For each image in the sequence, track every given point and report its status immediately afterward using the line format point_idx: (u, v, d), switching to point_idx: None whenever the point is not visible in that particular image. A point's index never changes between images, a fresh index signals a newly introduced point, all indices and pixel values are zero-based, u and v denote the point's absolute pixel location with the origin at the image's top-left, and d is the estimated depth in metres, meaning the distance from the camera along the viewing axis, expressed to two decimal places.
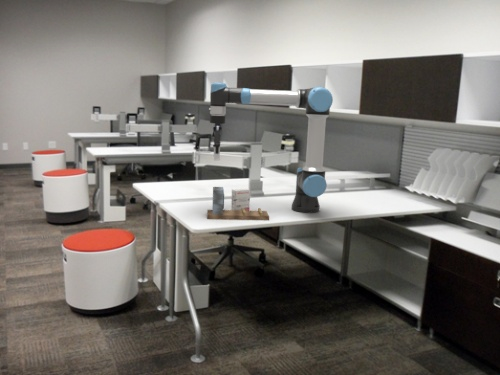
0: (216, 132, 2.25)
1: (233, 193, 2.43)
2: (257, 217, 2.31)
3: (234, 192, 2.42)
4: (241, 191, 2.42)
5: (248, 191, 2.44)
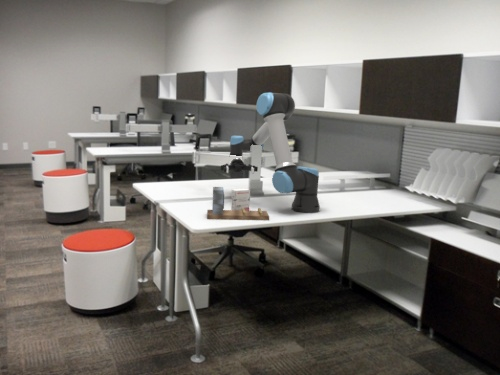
0: None
1: (233, 193, 2.43)
2: (257, 217, 2.31)
3: (234, 192, 2.42)
4: (241, 191, 2.42)
5: (248, 191, 2.44)
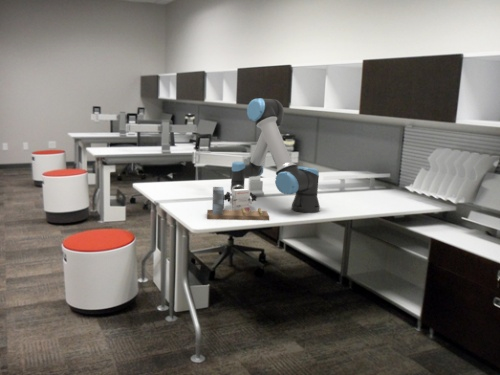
0: None
1: (233, 193, 2.43)
2: (257, 217, 2.31)
3: (234, 192, 2.42)
4: (241, 191, 2.42)
5: (248, 191, 2.44)
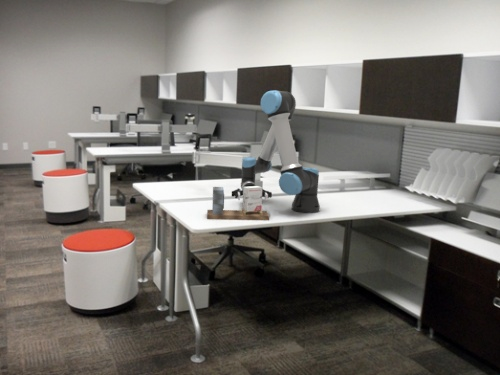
0: None
1: (244, 191, 2.32)
2: (257, 217, 2.31)
3: (246, 189, 2.31)
4: (253, 188, 2.31)
5: (260, 188, 2.33)
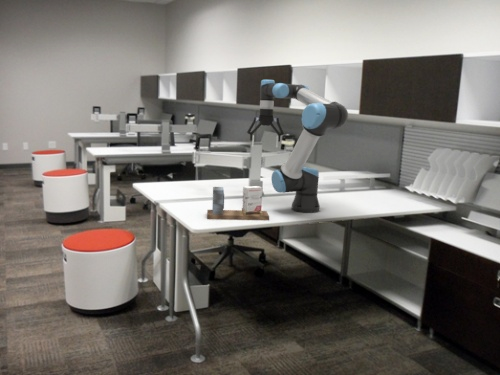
0: (252, 122, 2.62)
1: (244, 191, 2.32)
2: (257, 217, 2.31)
3: (246, 189, 2.31)
4: (253, 188, 2.31)
5: (260, 188, 2.33)
